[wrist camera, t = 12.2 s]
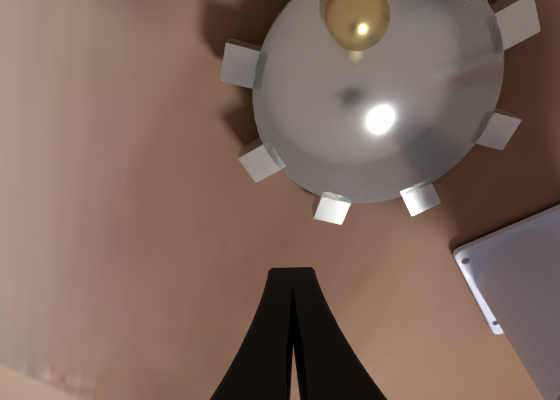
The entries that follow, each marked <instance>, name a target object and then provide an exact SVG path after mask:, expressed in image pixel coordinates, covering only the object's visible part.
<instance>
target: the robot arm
mask: <svg viewBox="0 0 560 400" xmlns="http://www.w3.org/2000/svg"><path fill="white" fill-rule="evenodd" d="M453 256H454V258H455V260H456V262H457V264H458V266H459V268H460V270H461V272H462V274H463V276H464V278H465V280H466V282H467V284H468V286H469V287H470V289H471V291H472V293H473V295H474V297H475V299H476V301H477V303H478V305H479V307H480V309H481V311H482V313H483V315H484V317H485V319H486V320H487V322H488V324H489V326H490V328H491V330H492V332H493V333H494V334H502V333H505V335H506V337H507V338H508V340H509V342H510V343H511V345H512V347H513V348H514V350H515V352H516V353H517V355H518V357H519V358H520V360H521V362H522V363H523V365H524V367H525V368H526V370H527V372H528V373H529V375H530V377H531V378H532V380H533V381H534V383H535V385H536V386H537V388H538V390H539V391H540V393H541V395H542V396H543V398H544V400H560V204H559V205H557V206H554V207H552V208H550V209H547V210H545V211H542V212H540V213H538V214H535V215H533V216H531V217H528V218H526V219H524V220H521V221H519V222H517V223H514V224H512V225H510V226H507V227H505V228H502V229H500V230H498V231H495V232H493V233H491V234H488V235H486V236H484V237H481V238H479V239H477V240H474V241H472V242H470V243H467V244H465V245H462V246H460V247H458V248H456V249H455V250H454V251H453ZM464 258H466V259H464ZM463 259H464V260H463ZM293 346H294V354H295V362H296V370H297V378H298V385H299V393H300V400H387V399H386V397H385V396H384V395H383V393H382V392H381V391H380V389H379V388H378V387H377V385H376V384H375V383H374V381H373V380H372V378H371V377H370V376H369V374H368V373H367V371H366V370H365V368H364V367H363V365H362V364H361V362H360V361H359V359H358V358H357V356H356V355H355V353H354V352H353V350H352V348H351V347H350V345H349V343H348V342H347V340H346V338H345V337H344V335H343V333H342V331H341V330H340V328H339V326H338V324H337V322H336V320H335V318H334V316H333V314H332V313H331V311H330V309H329V306H328V304H327V302H326V300H325V298H324V296H323V293H322V291H321V288H320V286H319V283H318V280H317V277H316V274H315V270H314V269H313V268H311V267H298V268H271V269H270V270H269V271H268V277H267V282H266V285H265V289H264V292H263V295H262V298H261V301H260V304H259V306H258V309H257V311H256V314H255V316H254V319H253V321H252V324H251V326H250V328H249V330H248V332H247V334H246V336H245V338H244V341H243V343H242V345H241V347H240V349H239V351H238V353H237V355H236V356H235V358H234V360H233V362H232V364H231V366H230V367H229V369H228V371H227V373H226V374H225V376H224V378H223V380H222V381H221V383H220V384H219V386H218V388H217V389H216V391H215V392H214V394H213V395H212V397H211V399H210V400H290V390H291V373H292V356H293Z"/></svg>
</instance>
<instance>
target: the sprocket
mask: <svg viewBox="0 0 560 400" xmlns="http://www.w3.org/2000/svg"><path fill="white" fill-rule="evenodd" d="M540 31H541V29H540V24H539V19H538V14H537V9H536V4H535V0H499V1H497V2H495V3H493V4H492V5H489V3H488V1H487V0H289V1H288V2H287V3H286V4H285V6H284V7H283V8H282V10H281V11H280V12H279V14H278V15H277V16H276V18H275V20H274V22H273V23H272V25H271V27H270V28H269V30H268V32H267V34H266V37H265V39H264V42H263V44H262V46H259V45H256V44H252V43H248V42H244V41H240V40H237V39H233V38H228V40H227V41H226V44H225V50H224V57H223V63H222V69H221V76H220V81H223V82H227V83H231V84H235V85H239V86H243V87H247V88H251V89H253V110H254V118H255V122H256V126H257V130H258V133H259V135H260V137H259V138H257V139H256V140H254V141H252V142H250V143H249V144H247V145H245V146H243V147H242V148H240V152H239V157H238V159H239V161H240V162H241V163H242V165H243V166H244V167H245V169H246V170H247V171H248V173H249V174H250V176H251V177H252V178H253V180H254V181H255V182H256V183H257V182H258V181H260V180H262V179H264V178H266V177H268V176H270V175H272V174H273V173H275V172H277V171H279V170H281V171H282V172H283V173H284V174H285V175H286V176H287V177H288V178H290V179H291V180H292V181H294V182H295V183H296V184H298V185H299V186H301V187H302V188H304V189H306V190H308V191H310V192H311V193H314V194H316V197H315V200H314V202H313V205H312V210H313V218H314V219H317V220H322V221H327V222H332V223H337V224H341V225H342V222H343V220H344V218H345V215H346V213H347V210H348V208H349V206H350V203H375V202H381V201H387V200H392V199H395V198H399V197H403V199H404V201H405V203H406V205H407V207H408V209H409V211H410V213H411V215H412V216H413V215H416V214H418V213H420V212H422V211H425V210H427V209H429V208H432V207H434V206H436V205H438V204H441V202H440V200H439V198H438V195H437V193H436V191H435V188H434V186H433V184H432V183H433V182H434V181H436V180H437V179H439V178H440V177H442V176H443V175H444V174H446V173H447V172H448V171H449V170H451V169H452V168H453V167H454V166H456V165H457V164H458V163H459V162H460V161H461V160H462V159H463V158H464V157H465V156H466V155H467V153H468V152H469V151H470V150H471V149H472V147H473V146H474V145H475V144H478V145H482V146H486V147H490V148H494V149H499V150H503V149H504V148H505V146H506V144H507V143H508V141H509V140H510V138H511V136H512V135H513V133H514V132H515V130H516V129H517V127H518V125H519V124H520V122H521V121H522V119H520V118H519V117H517V116H515V115H514V114H512V113H511V112H509V111H507V110H503V109H499V108H495V107H496V104H497V102H498V99H499V95H500V91H501V87H502V83H503V74H504V50H506V49H508V48H510V47H512V46H514V45H516V44H517V43H519V42H521V41H523V40H525V39H527V38H529V37H531V36H532V35H534V34H536V33H538V32H540Z"/></svg>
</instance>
